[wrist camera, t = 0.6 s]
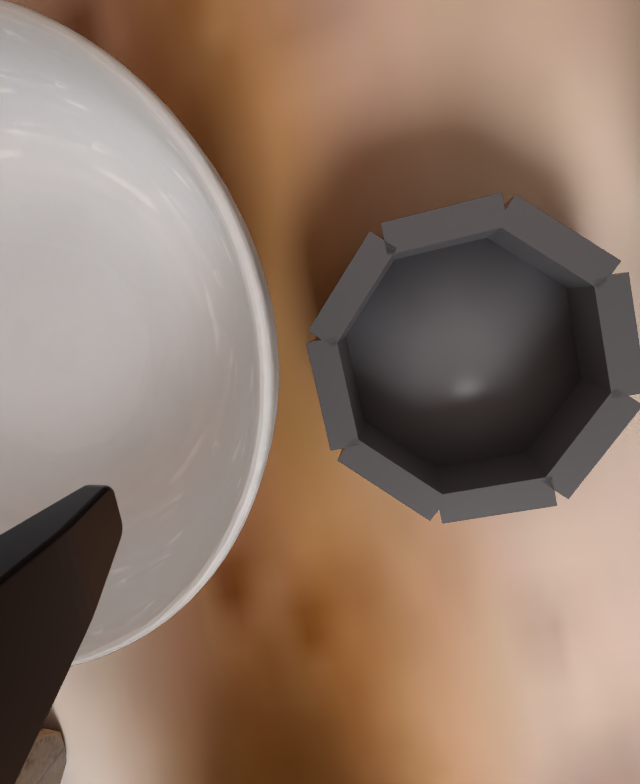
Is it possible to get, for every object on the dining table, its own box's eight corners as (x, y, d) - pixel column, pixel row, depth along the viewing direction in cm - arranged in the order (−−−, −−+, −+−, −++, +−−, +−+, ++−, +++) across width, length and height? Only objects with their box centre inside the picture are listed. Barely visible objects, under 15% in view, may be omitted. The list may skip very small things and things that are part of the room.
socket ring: (625, 462, 21) (668, 494, 18) (354, 507, 23) (346, 544, 20) (581, 180, 20) (618, 155, 16) (296, 251, 22) (277, 242, 18)
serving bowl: (-177, 495, 27) (-372, 563, 20) (-123, 21, 23) (-345, -95, 16) (237, 644, 25) (176, 773, 18) (378, 159, 21) (367, 92, 14)
